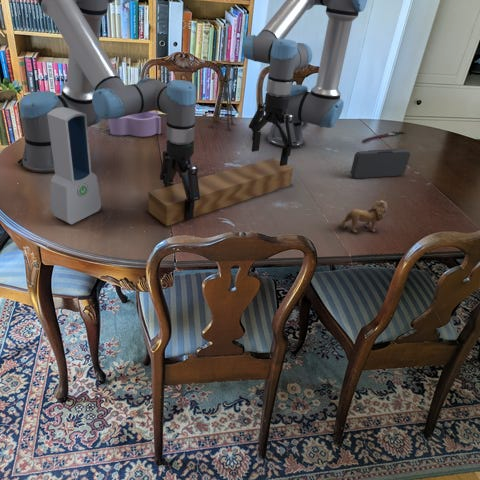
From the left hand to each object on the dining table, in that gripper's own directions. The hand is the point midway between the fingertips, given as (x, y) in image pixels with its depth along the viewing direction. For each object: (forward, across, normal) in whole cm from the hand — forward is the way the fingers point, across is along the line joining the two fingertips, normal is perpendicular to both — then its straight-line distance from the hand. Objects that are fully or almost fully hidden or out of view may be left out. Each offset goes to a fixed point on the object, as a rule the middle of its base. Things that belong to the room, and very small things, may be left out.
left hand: (178, 210), depth 140 cm
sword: (+1, +8, -120) cm, 120 cm away
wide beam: (+1, 0, -18) cm, 18 cm away
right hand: (-10, 0, -36) cm, 37 cm away
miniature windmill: (+1, +54, -60) cm, 81 cm away
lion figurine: (+1, -37, -41) cm, 56 cm away
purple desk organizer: (+1, +64, -23) cm, 68 cm away
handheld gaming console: (+1, -16, -79) cm, 81 cm away
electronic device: (+1, +14, +25) cm, 29 cm away
